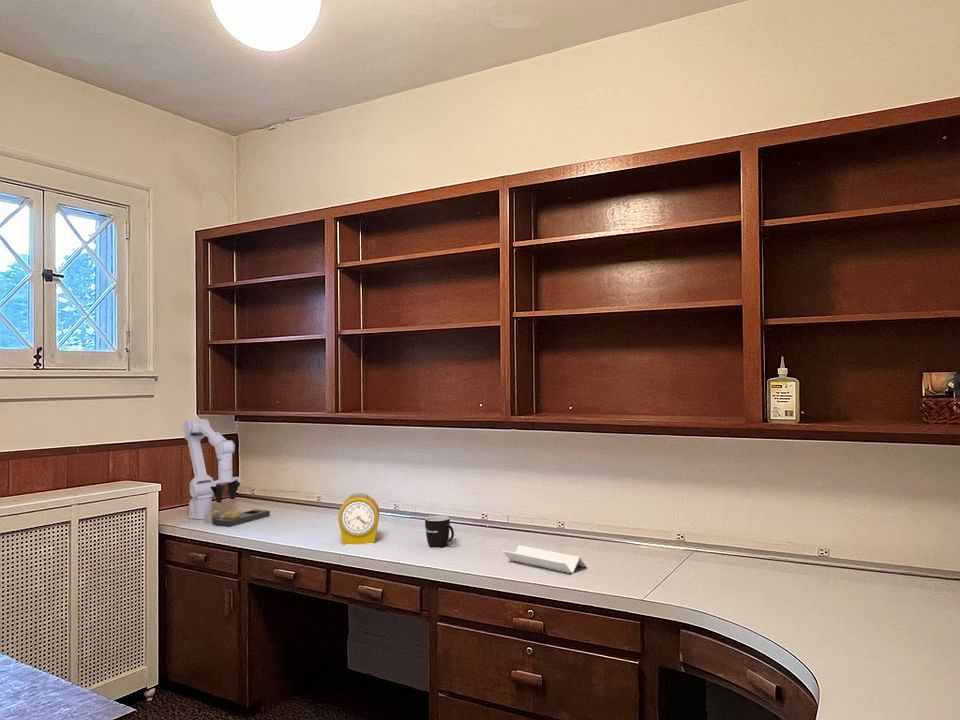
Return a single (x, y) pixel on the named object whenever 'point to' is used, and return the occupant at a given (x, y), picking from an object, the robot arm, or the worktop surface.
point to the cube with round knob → (211, 516)
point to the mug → (438, 531)
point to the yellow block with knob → (231, 515)
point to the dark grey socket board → (242, 518)
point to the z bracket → (545, 558)
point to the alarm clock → (358, 519)
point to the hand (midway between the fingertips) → (225, 500)
